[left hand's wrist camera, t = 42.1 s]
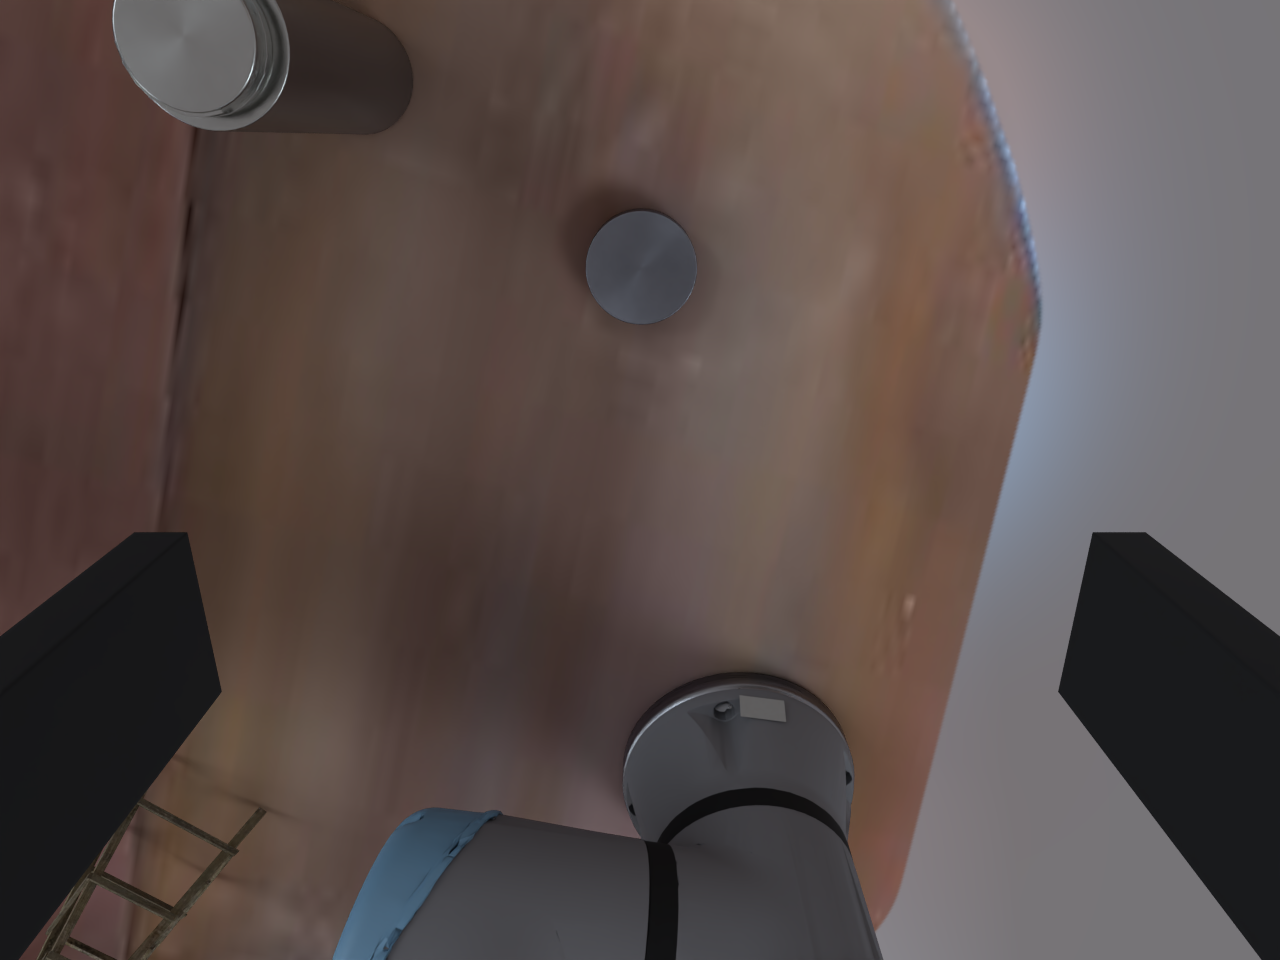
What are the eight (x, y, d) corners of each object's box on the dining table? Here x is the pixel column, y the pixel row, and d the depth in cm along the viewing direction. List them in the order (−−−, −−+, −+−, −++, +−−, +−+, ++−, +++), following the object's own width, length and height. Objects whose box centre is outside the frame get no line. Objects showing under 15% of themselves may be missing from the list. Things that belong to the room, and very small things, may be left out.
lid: (658, 338, 47) (659, 344, 46) (567, 283, 46) (565, 288, 45) (716, 246, 45) (718, 249, 44) (622, 186, 44) (621, 188, 43)
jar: (288, 27, 42) (62, -46, 25) (394, 3, 41) (235, -86, 25) (324, 144, 43) (136, 146, 27) (426, 122, 43) (297, 111, 27)
